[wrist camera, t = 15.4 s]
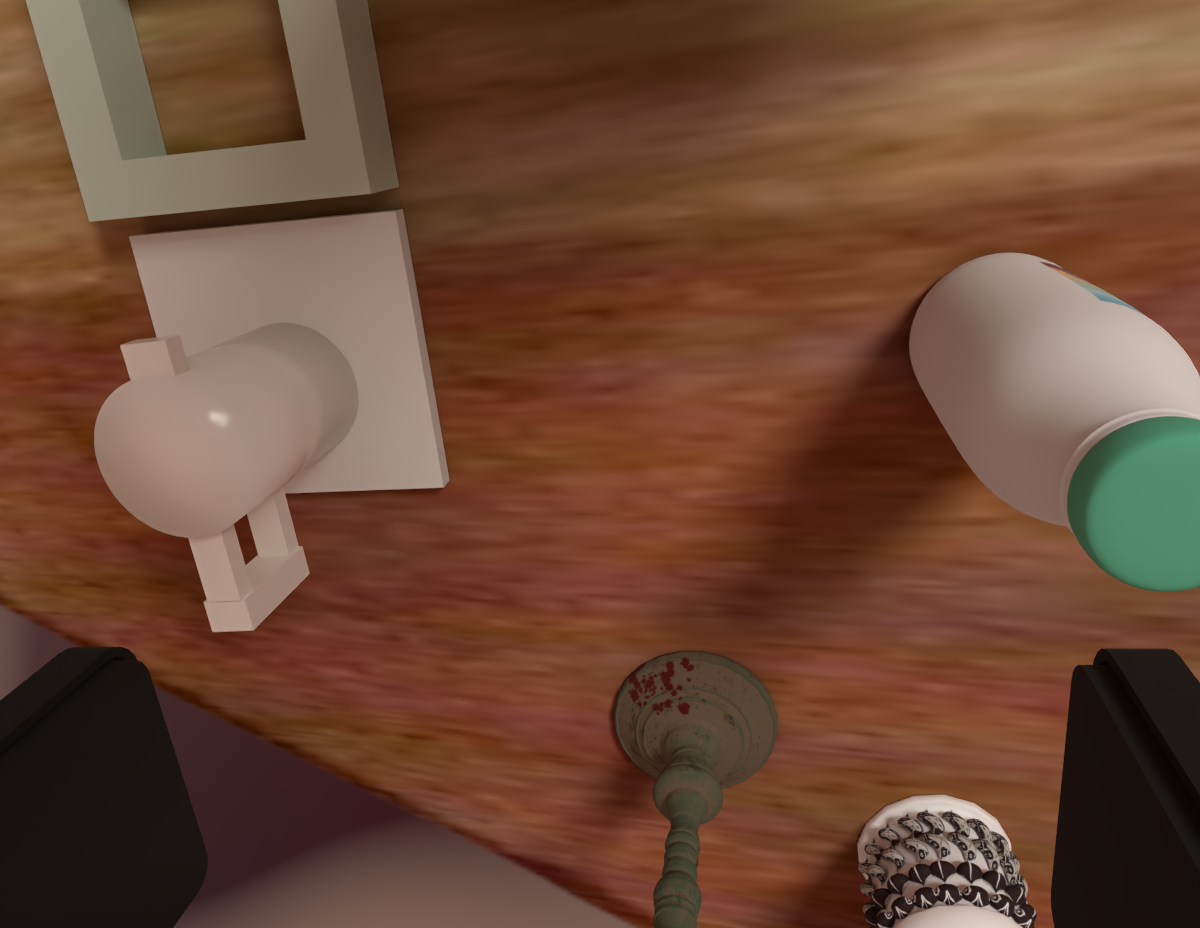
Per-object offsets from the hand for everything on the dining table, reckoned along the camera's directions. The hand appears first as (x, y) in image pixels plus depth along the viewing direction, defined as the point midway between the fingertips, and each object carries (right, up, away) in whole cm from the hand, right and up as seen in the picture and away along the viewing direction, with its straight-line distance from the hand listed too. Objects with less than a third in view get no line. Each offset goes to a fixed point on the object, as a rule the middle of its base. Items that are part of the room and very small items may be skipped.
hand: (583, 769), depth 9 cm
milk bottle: (+18, +9, +33) cm, 39 cm away
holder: (-17, +22, +33) cm, 44 cm away
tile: (-15, +8, +39) cm, 42 cm away
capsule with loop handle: (-15, +5, +39) cm, 42 cm away
